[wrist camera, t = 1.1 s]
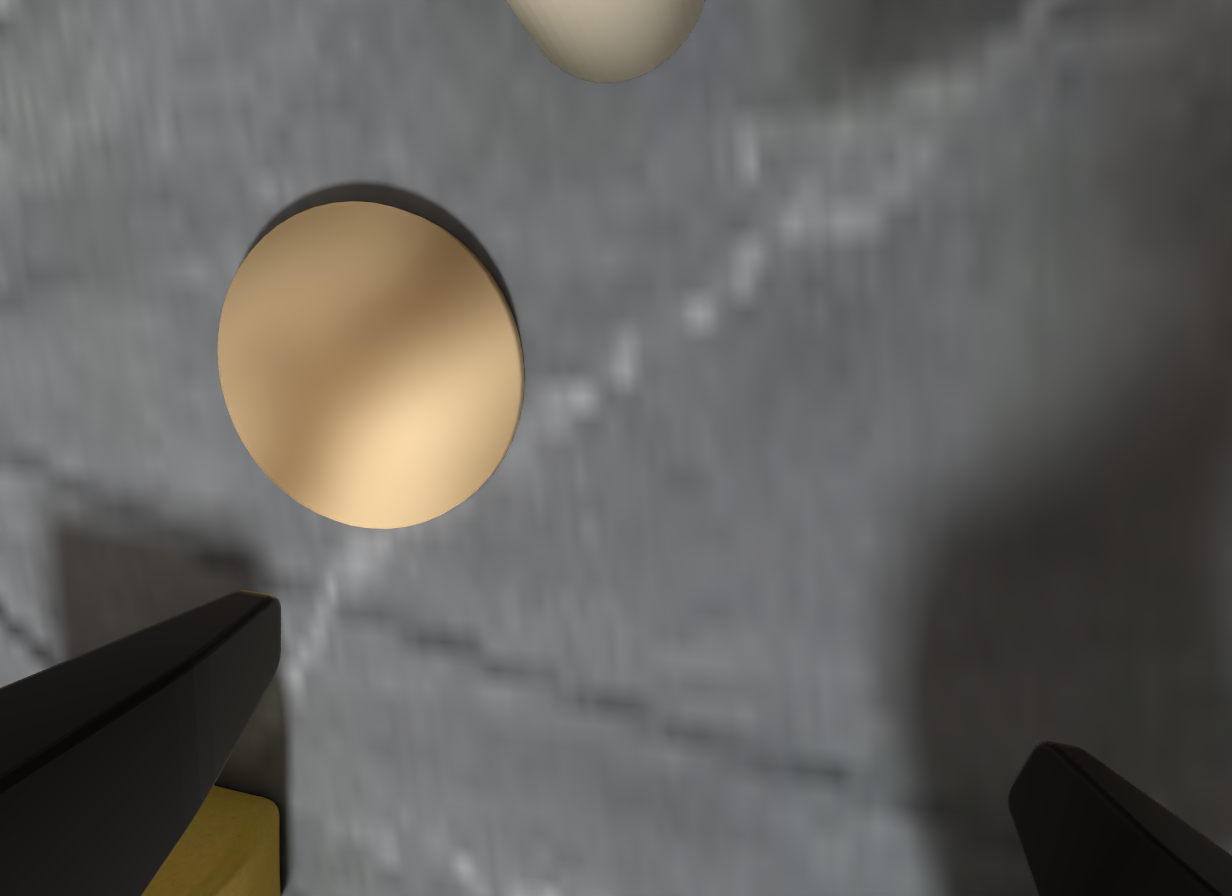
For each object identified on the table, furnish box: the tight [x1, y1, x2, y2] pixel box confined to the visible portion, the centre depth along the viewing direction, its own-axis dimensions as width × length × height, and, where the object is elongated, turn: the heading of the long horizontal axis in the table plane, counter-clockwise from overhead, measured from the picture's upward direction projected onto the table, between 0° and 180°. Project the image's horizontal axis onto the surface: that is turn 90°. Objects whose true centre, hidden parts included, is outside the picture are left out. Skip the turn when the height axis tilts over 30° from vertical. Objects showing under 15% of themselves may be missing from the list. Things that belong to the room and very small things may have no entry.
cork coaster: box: [218, 201, 525, 529], centre depth 20 cm, size 10×10×1 cm
